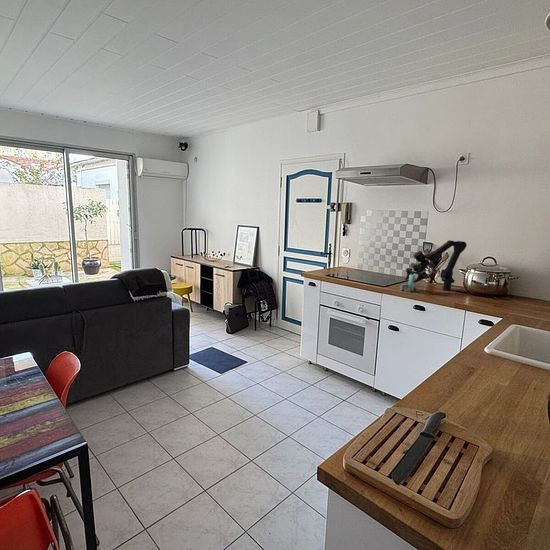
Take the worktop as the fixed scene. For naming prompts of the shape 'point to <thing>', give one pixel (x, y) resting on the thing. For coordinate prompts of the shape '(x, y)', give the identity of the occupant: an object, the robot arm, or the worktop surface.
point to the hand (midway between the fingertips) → (409, 281)
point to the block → (409, 289)
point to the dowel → (411, 282)
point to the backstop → (403, 286)
